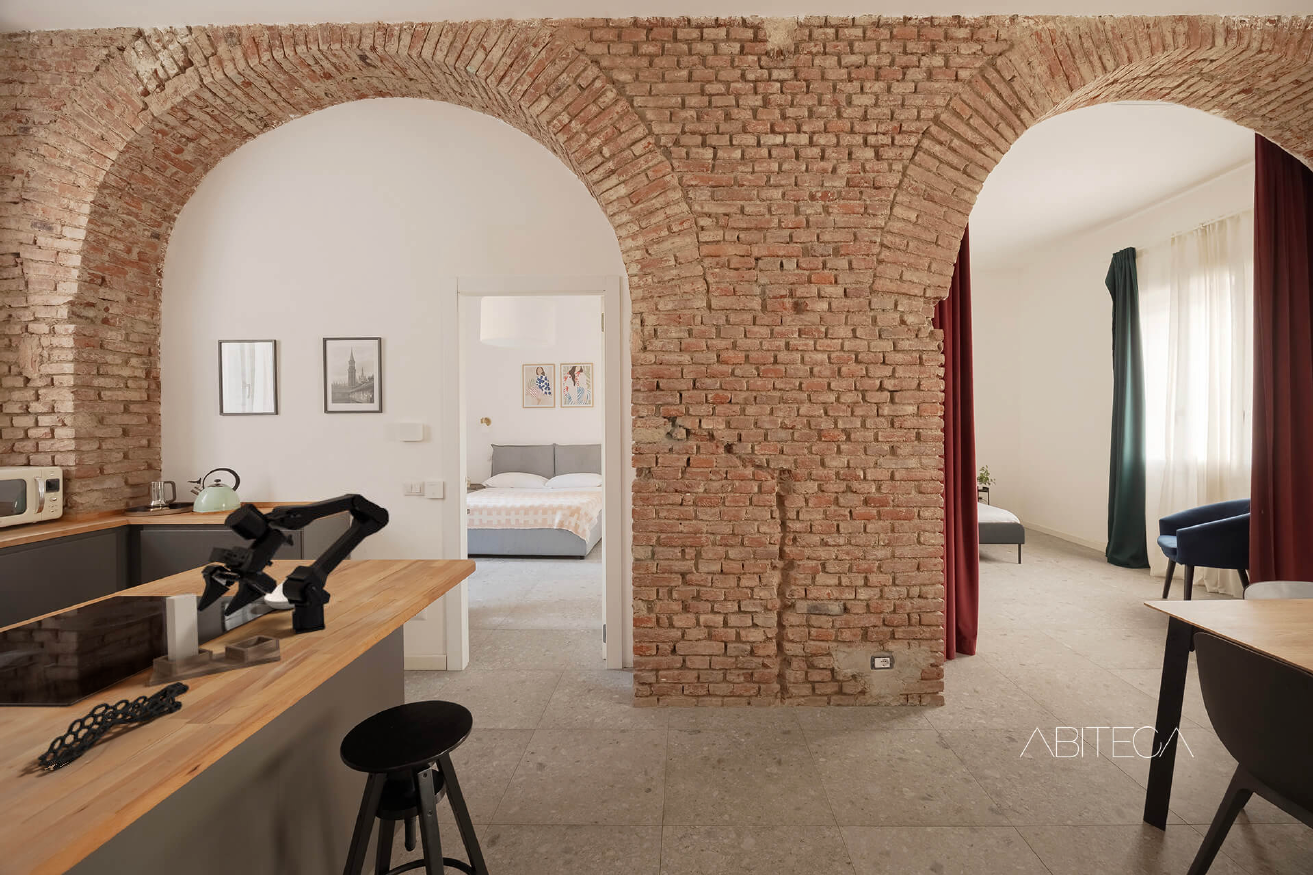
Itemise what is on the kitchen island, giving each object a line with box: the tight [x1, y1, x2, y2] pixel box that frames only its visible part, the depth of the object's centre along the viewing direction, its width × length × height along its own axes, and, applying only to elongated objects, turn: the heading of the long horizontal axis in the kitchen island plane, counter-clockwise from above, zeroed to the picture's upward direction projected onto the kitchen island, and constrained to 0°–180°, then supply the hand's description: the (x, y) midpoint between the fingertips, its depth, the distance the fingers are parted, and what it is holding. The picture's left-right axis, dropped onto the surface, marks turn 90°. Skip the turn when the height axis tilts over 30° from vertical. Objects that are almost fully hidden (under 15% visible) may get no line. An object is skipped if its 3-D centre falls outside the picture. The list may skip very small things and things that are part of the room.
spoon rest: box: [263, 579, 294, 610], centre depth 176 cm, size 24×12×7 cm, turn 17°
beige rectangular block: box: [165, 592, 199, 662], centre depth 126 cm, size 4×3×15 cm
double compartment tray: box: [149, 634, 282, 687], centre depth 129 cm, size 22×10×4 cm, turn 124°
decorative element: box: [37, 681, 190, 770], centre depth 101 cm, size 22×5×6 cm, turn 172°
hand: (211, 612), depth 131 cm, fingers open, 9 cm apart
